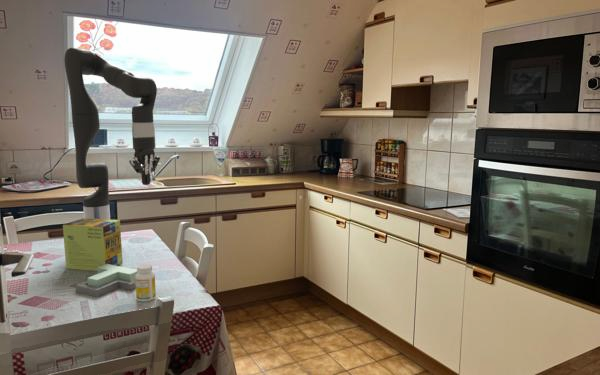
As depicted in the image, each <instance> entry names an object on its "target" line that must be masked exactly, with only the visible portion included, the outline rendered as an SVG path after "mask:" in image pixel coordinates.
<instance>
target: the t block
mask: <svg viewBox="0 0 600 375" xmlns="http://www.w3.org/2000/svg"><path fill="white" fill-rule="evenodd" d="M137 273H138V271H137V269H135V268H130V267H126V266H125V267H124V266H119V265H117V266H115V265H110V264H106V265H103V266H100V267H97V271H96V273H95V274H96V275H94V276H91V277H89V278H86V280H87V279H88V280H87V281H88V286H93V287H97V288H98V287H100V286H103V285H105V284H108V283H110V282H113V281H115V280H117V279H121V280H126V281H130V282H134V285H135V286H136V281H135V276H136V274H137Z"/></svg>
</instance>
